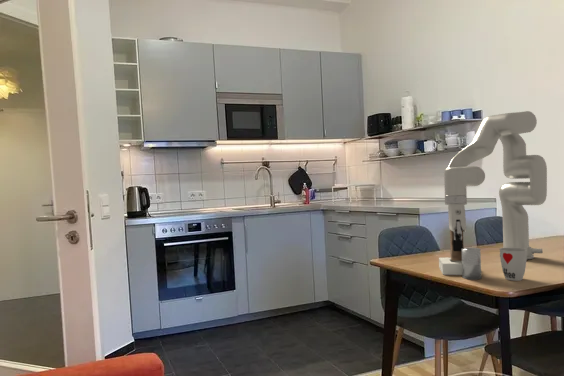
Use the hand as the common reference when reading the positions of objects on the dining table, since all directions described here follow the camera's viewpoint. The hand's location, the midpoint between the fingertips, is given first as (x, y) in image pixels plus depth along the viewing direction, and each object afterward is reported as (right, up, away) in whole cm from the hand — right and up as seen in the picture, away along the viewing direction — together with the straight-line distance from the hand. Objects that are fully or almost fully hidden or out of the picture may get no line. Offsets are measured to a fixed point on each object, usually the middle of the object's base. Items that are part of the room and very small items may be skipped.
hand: (456, 249), depth 160 cm
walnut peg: (0, -4, 0) cm, 4 cm away
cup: (+13, -8, -14) cm, 21 cm away
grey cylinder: (+1, -8, -10) cm, 13 cm away
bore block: (+1, -8, 0) cm, 8 cm away
